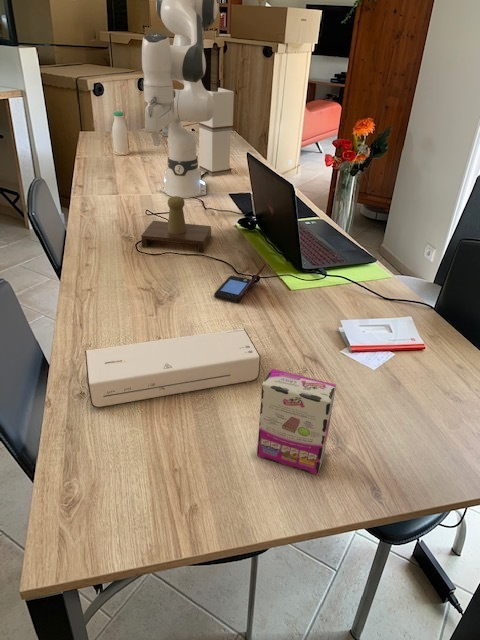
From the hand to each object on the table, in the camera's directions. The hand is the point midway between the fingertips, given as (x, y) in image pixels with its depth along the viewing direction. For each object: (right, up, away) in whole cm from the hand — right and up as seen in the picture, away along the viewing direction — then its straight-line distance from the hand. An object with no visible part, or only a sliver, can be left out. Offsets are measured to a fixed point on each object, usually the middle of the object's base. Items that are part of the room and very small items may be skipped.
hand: (161, 141), depth 158 cm
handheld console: (+25, -50, -23) cm, 60 cm away
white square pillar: (+14, +13, +74) cm, 76 cm away
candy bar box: (+34, -81, -71) cm, 114 cm away
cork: (+5, -28, +2) cm, 29 cm away
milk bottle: (-35, +28, +94) cm, 104 cm away
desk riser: (+5, -32, +4) cm, 32 cm away
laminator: (+11, -69, -54) cm, 88 cm away
